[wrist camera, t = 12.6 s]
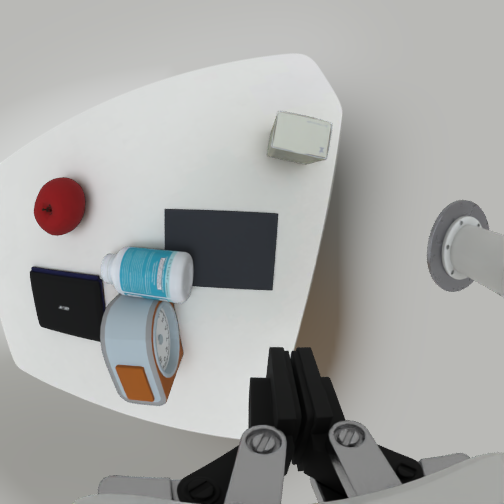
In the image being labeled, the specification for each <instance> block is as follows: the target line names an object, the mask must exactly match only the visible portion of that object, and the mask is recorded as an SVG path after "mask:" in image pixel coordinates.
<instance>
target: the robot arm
mask: <svg viewBox="0 0 504 504" xmlns="http://www.w3.org/2000/svg"><path fill="white" fill-rule="evenodd" d="M442 263H443V267H444V269H445V271H446V273H447V274H448V275H449V276H451V277H452V278H454V279H457V280H462V279H465V278H467V277H469V278H471V279H472V280H474V281H476V282H478V283H480V284H481V285H483V286H485V287H487V288H488V289H490V290H492V291H494V292H495V293H497V294H499V295H500V296H502V297H504V235H502V234H499V233H496V232H493V231H490V230H487V229H483V228H482V226H481V224H480V223H479V221H478V220H477V219H475V218H474V217H471V216H462V217H459V218H458V219H456V220H455V221H454V222H453V223H452V224H451V225H450V227H449V229H448V230H447V232H446V235H445V237H444V240H443V245H442ZM291 459H292V464H293V465H295V464H297V468H298V471H304V473H305V474H307V475H308V476H310V482H311V485H312V487H313V490H314V492H315V495H316V498H317V500H318V503H315V504H504V453H488V454H483V455H479V456H475V457H472V458H470V457H469V456H467V455H465V454H463V453H456V454H451V455H446V456H440V457H433V458H425V459H421V460H420V461H419V462H417V461H416V460H414V459H412V458H409V457H406V456H404V455H401V454H399V453H396V452H394V451H392V450H389V449H387V448H384V447H382V446H380V445H377V444H376V442H375V440H374V439H373V437H372V436H371V434H370V433H369V431H368V429H367V428H366V427H365V426H364V425H362V424H361V423H358V422H356V421H350V420H346V421H345V418H344V415H343V412H342V410H341V407H340V404H339V401H338V398H337V396H336V393H335V390H334V388H333V385H332V382H331V380H330V378H329V377H321V376H320V373H319V371H318V368H317V365H316V361H315V359H314V356H313V353H312V350H311V348H310V347H309V348H308V347H307V348H306V347H305V348H297V349H296V351H292V352H291V358H290V356H289V351H284V348H283V347H270V348H269V357H268V366H267V375H266V378H250V389H249V429H247V430H246V431H245V432H244V433H243V434H242V437H241V440H240V444H239V446H237V447H235V448H234V449H232V450H231V451H229V452H228V453H226V454H224V455H223V456H221V457H220V458H218V459H216V460H215V461H213V462H211V463H209V464H208V465H206V466H204V467H202V468H201V469H199V470H197V471H195V472H193V473H192V474H190V475H188V476H186V477H185V478H183V479H182V480H171V479H170V478H151V477H129V476H118V475H113V476H108V477H105V478H104V479H103V480H102V481H101V482H100V484H99V487H98V494H97V495H89V496H85V497H82V498H79V499H77V500H76V501H74V502H73V503H72V504H281V499H282V489H283V480H284V476H285V475H286V474H287V471H288V468H289V465H290V462H291Z"/></svg>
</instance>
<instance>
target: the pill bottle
mask: <svg viewBox="0 0 504 504" xmlns="http://www.w3.org/2000/svg"><path fill="white" fill-rule="evenodd" d="M101 276H102V279H103V281H104V282H105V283H108V284H113V285H114V287H115V289H116V290H117V291H118V292H119V293H120V294H122V295H127V296H133V297H139V298H145V299H152V300H159V301H165V302H172V303H185V302H186V301H187V300H188V298H189V296H190V293H191V289H192V283H193V260H192V257H191V255H190V254H189V253H187V252H179V251H169V250H158V249H148V248H137V247H125V248H122V249H121V250H120V251H119V252H118V253H117V254H107V255H106V256H105V257H104V259H103V261H102V265H101Z"/></svg>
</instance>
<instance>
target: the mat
mask: <svg viewBox="0 0 504 504" xmlns="http://www.w3.org/2000/svg"><path fill="white" fill-rule="evenodd" d="M277 223H278V214H275V213H258V212H238V211H214V210H183V209H165V250H169V251H179V252H187V253H189V254H190V255H191V257H192V260H193V283H192V286H200V287H216V288H234V289H254V290H272V288H273V276H274V264H275V251H276V237H277Z"/></svg>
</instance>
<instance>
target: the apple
mask: <svg viewBox="0 0 504 504" xmlns="http://www.w3.org/2000/svg"><path fill="white" fill-rule="evenodd" d="M84 211H85V196H84V192H83V190H82V188H81V186H80V185H79V184H78V183H77V182H75V181H74V180H72V179H70V178H64V177H63V178H56V179H53V180H51V181H49V182H47V183H46V184H45V185H44V186H43V187H42V188H41V190H40V192H39V194H38V196H37V199H36V202H35V207H34V216H35V219H36V221H37V223H38V224H39V226H40V227H41V228H42V229H43V230H45V231H46V232H47V233H49V234H51V235H63V234H66V233H68V232H70V231H72V230H73V229H74V228H75V227H76V226H77V225H78V224H79V223H80V221H81V219H82V217H83V215H84Z"/></svg>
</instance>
